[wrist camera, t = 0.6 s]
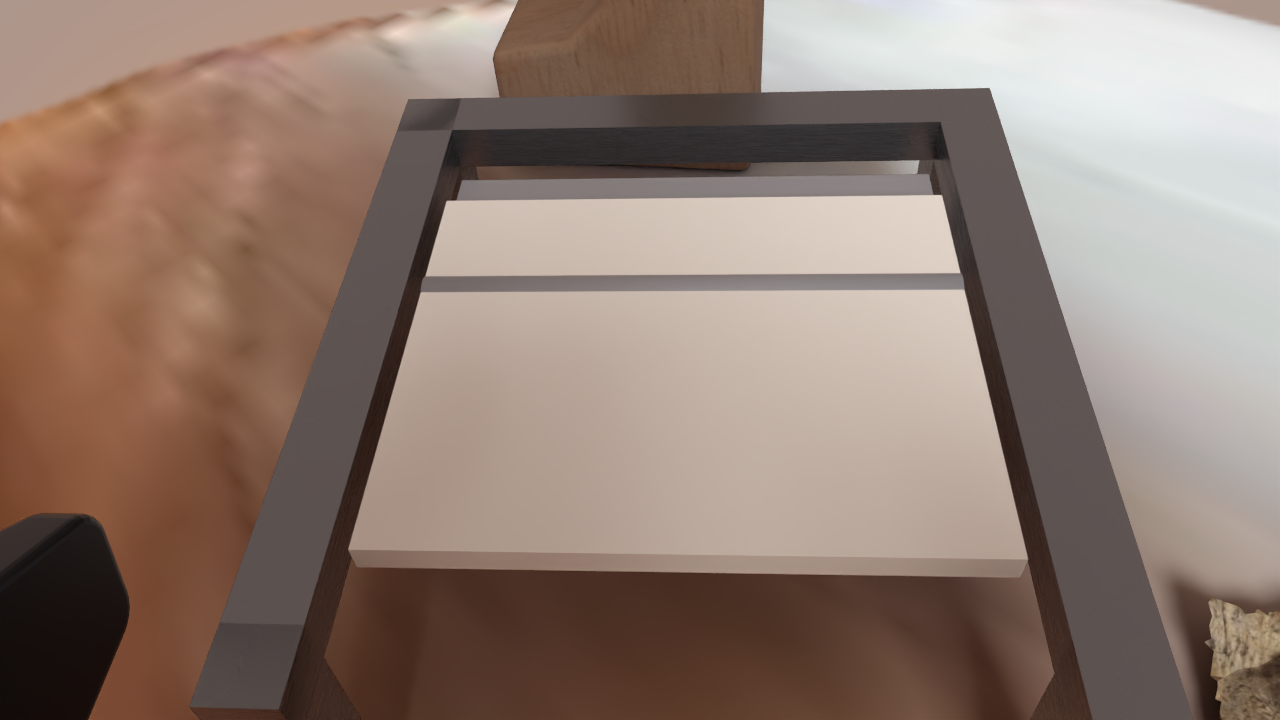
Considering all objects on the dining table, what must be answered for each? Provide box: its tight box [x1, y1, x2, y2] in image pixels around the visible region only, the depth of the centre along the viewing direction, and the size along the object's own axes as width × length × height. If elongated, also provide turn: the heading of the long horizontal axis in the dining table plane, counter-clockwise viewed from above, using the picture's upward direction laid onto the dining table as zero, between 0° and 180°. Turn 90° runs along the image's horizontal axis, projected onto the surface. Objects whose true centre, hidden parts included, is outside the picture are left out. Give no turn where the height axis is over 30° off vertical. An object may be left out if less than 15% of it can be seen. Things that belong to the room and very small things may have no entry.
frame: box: [189, 88, 1193, 720], centre depth 25 cm, size 18×16×7 cm
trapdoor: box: [348, 174, 1028, 578], centre depth 23 cm, size 12×12×3 cm
